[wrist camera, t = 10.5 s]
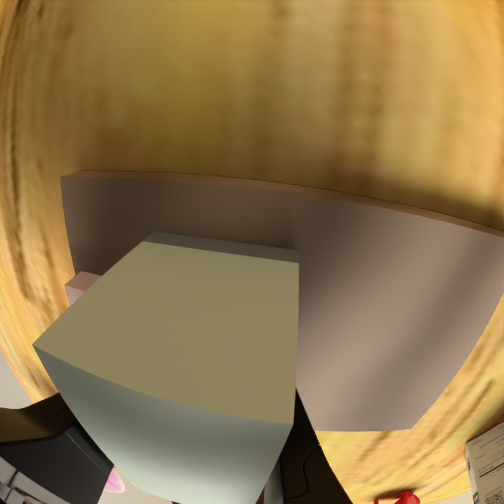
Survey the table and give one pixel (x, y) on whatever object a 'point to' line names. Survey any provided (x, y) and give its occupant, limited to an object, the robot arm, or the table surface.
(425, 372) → the grey brown rectangular board
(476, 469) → the light bulb box
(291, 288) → the block
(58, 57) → the table surface
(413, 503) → the cap
